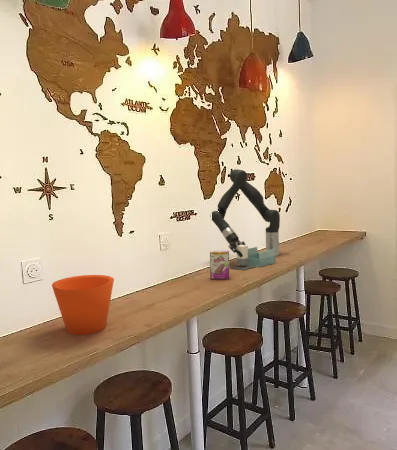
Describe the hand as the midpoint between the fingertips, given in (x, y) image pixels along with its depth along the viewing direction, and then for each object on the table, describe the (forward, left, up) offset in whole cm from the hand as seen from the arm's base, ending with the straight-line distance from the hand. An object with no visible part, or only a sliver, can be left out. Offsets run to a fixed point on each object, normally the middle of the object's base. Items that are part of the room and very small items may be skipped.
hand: (244, 255), depth 296 cm
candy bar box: (+30, +6, -8) cm, 32 cm away
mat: (0, -2, -8) cm, 8 cm away
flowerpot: (+128, +21, -8) cm, 130 cm away
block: (0, -2, -6) cm, 6 cm away
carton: (-16, -2, -8) cm, 18 cm away
